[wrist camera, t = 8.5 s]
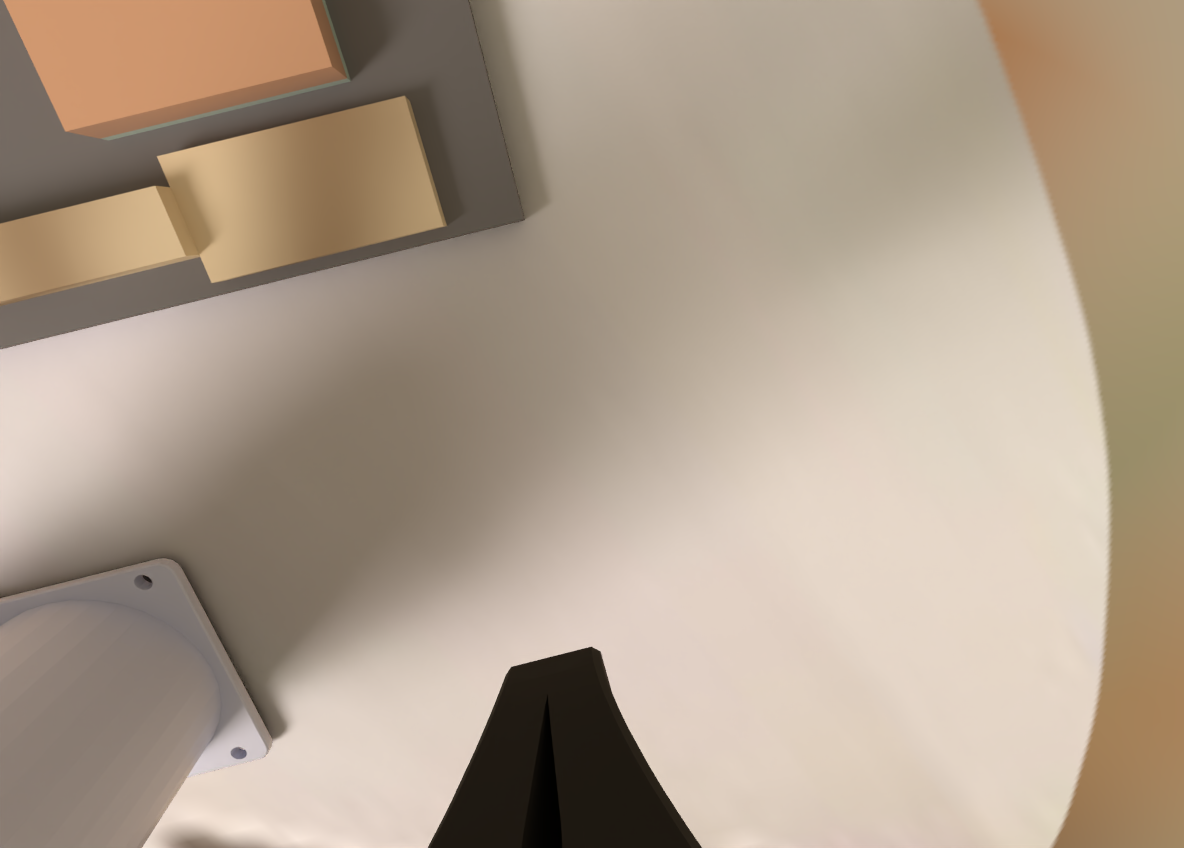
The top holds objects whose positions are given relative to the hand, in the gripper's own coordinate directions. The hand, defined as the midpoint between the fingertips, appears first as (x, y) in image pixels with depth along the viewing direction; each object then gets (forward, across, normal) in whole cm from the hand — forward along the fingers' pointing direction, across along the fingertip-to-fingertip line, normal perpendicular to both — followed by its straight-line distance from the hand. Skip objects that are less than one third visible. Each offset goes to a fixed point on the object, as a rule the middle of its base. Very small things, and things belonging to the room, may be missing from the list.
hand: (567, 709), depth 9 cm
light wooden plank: (+10, +7, -9) cm, 15 cm away
